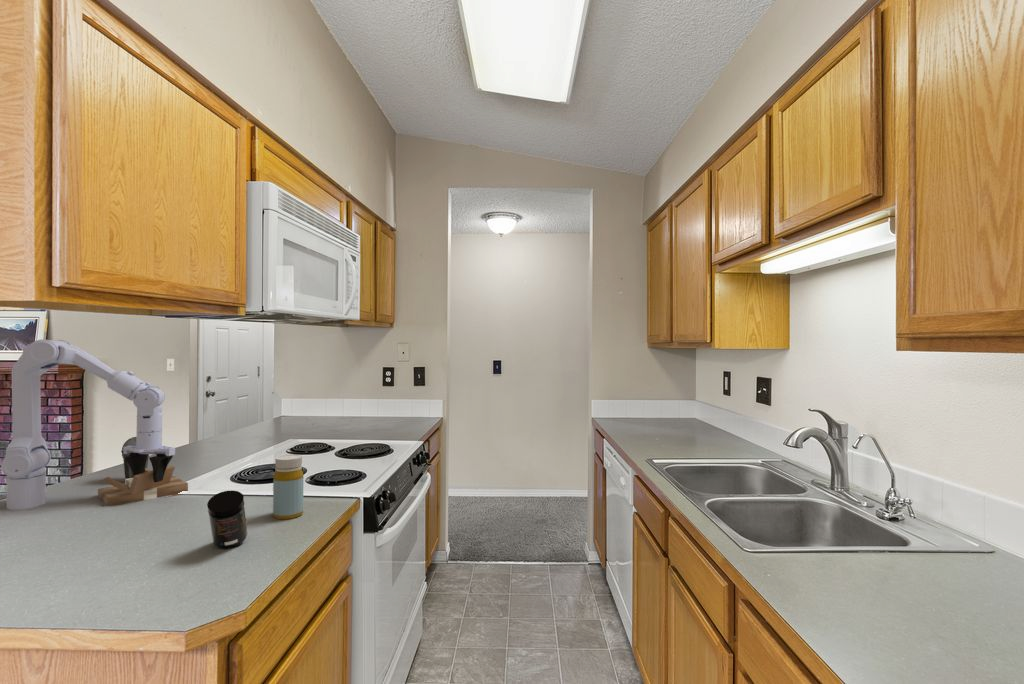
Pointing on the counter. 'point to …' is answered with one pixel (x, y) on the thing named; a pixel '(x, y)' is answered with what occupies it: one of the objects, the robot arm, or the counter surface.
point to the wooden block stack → (120, 497)
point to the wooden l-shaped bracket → (142, 481)
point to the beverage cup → (126, 466)
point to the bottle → (288, 487)
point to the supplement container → (227, 519)
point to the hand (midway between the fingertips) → (148, 480)
